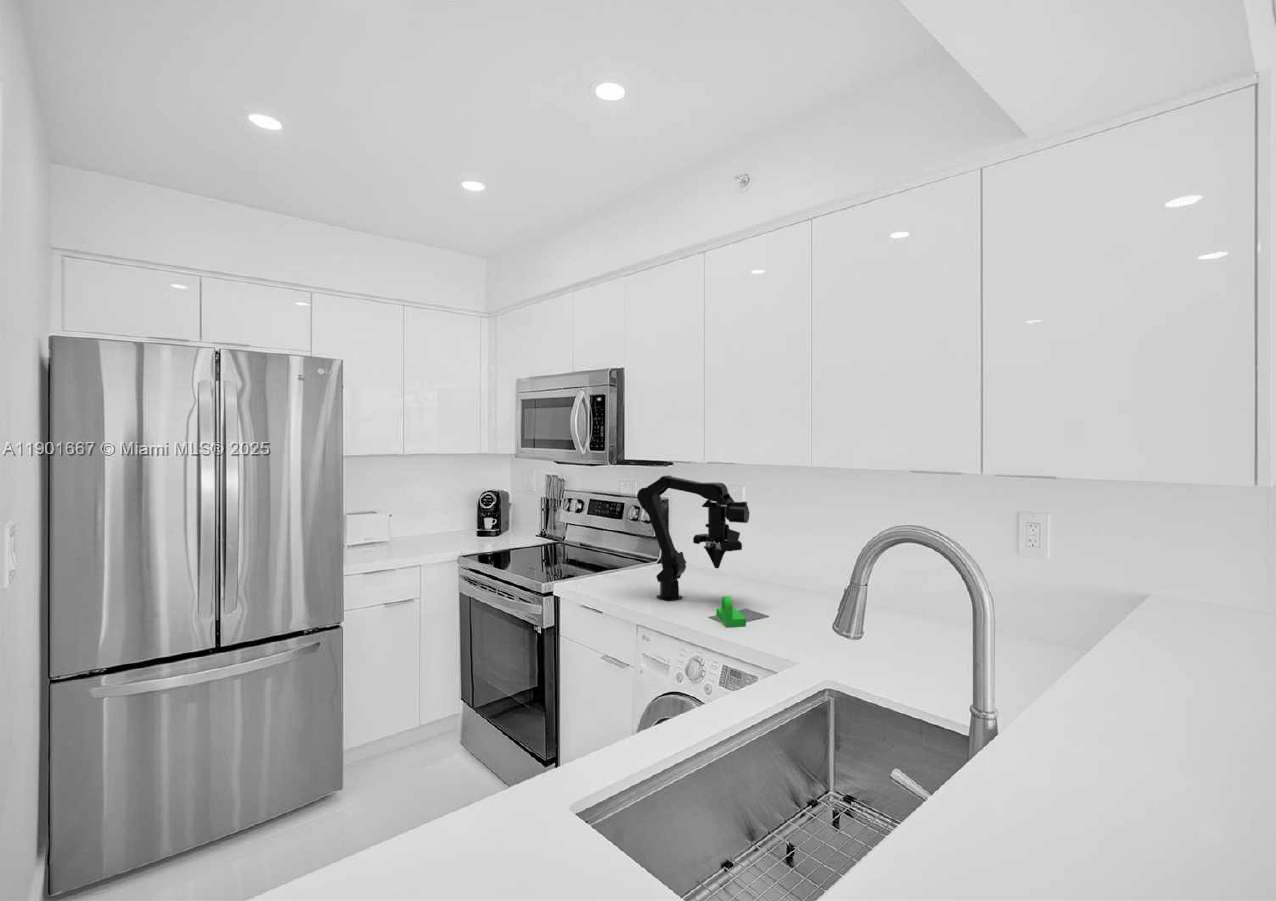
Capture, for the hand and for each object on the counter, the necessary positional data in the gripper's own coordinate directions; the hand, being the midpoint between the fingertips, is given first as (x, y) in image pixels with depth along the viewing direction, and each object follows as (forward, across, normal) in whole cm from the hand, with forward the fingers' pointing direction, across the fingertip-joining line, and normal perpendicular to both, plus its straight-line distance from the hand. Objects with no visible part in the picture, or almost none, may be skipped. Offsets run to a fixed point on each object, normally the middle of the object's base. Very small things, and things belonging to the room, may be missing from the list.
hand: (716, 568), depth 205 cm
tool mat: (+12, -15, +4) cm, 20 cm away
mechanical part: (+12, -16, +8) cm, 22 cm away
